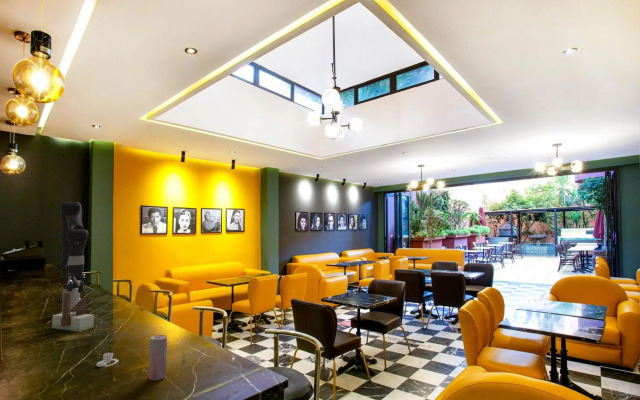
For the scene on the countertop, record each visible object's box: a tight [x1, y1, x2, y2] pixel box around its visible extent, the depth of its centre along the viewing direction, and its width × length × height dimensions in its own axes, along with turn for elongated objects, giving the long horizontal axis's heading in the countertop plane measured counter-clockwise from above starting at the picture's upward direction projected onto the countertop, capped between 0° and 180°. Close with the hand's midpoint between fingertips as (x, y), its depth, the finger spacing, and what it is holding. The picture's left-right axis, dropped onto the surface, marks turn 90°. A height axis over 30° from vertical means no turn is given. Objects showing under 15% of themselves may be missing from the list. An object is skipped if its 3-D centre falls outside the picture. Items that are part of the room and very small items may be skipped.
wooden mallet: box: [61, 293, 87, 326], centre depth 191 cm, size 4×11×18 cm, turn 142°
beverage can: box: [148, 334, 168, 382], centre depth 127 cm, size 6×6×15 cm
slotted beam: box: [51, 312, 95, 332], centre depth 191 cm, size 8×22×7 cm, turn 71°
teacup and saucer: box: [95, 352, 119, 368], centre depth 141 cm, size 9×8×4 cm
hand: (74, 291), depth 192 cm, fingers open, 8 cm apart
